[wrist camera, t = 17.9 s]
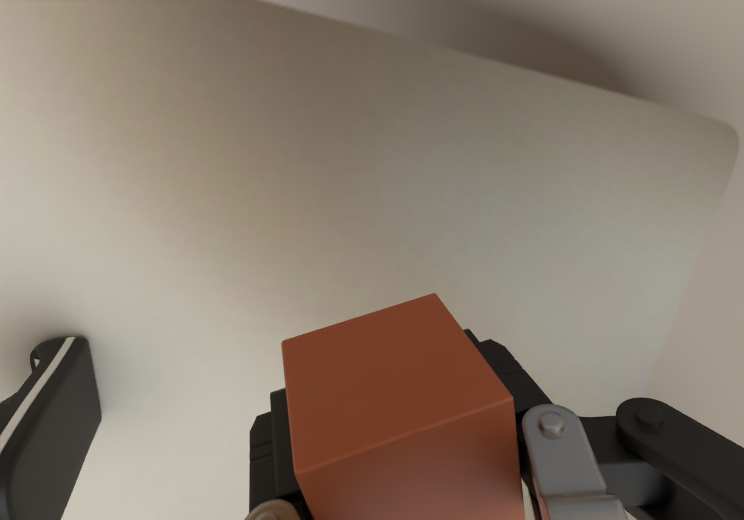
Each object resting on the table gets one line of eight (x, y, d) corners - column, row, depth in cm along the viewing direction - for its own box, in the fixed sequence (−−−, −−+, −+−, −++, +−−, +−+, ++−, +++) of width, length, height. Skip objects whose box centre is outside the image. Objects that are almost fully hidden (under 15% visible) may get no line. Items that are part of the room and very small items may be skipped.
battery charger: (17, 334, 28) (-120, 495, 18) (89, 331, 29) (-3, 483, 19) (40, 425, 31) (-68, 611, 20) (104, 420, 31) (32, 596, 21)
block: (280, 340, 13) (293, 474, 9) (435, 291, 13) (514, 397, 9) (322, 453, 15) (348, 604, 11) (455, 407, 16) (528, 535, 11)
